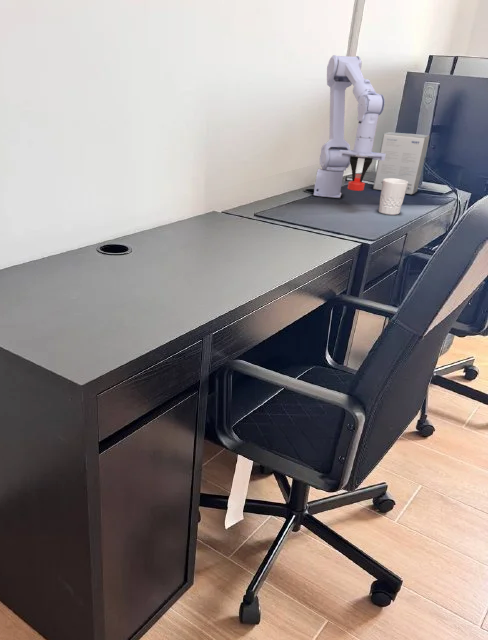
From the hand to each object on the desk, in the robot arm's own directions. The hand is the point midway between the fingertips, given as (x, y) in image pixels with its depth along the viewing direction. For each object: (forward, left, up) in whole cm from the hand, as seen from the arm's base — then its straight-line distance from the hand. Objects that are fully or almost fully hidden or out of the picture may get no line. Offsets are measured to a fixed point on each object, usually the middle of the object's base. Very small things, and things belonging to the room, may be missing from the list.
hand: (356, 181), depth 191 cm
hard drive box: (+14, +38, -9) cm, 41 cm away
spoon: (0, -1, -1) cm, 2 cm away
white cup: (+12, 0, -9) cm, 15 cm away
